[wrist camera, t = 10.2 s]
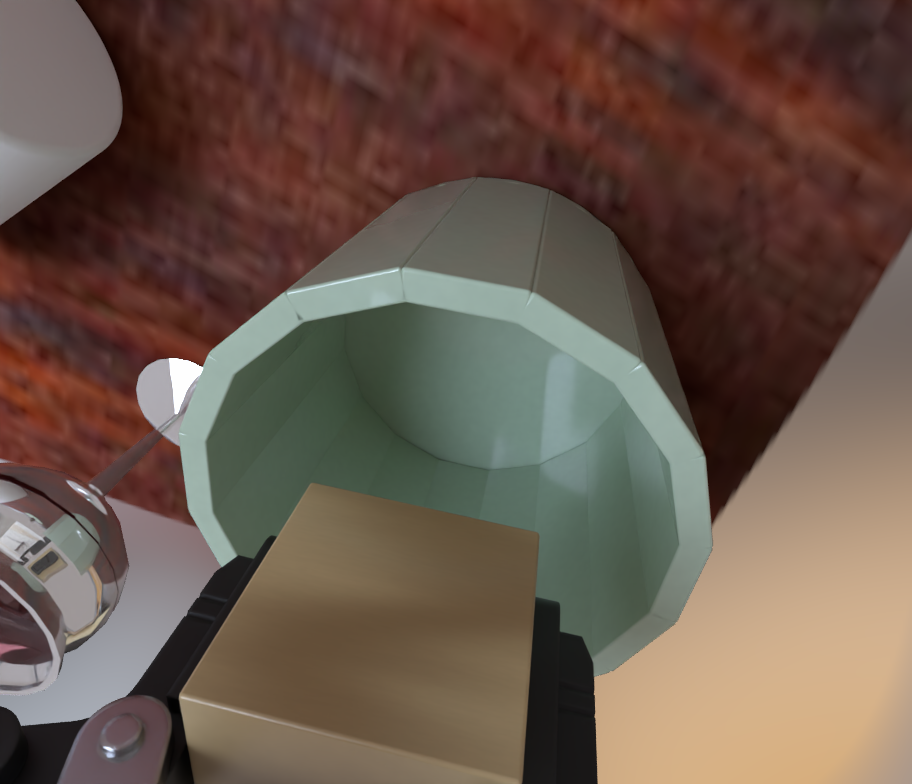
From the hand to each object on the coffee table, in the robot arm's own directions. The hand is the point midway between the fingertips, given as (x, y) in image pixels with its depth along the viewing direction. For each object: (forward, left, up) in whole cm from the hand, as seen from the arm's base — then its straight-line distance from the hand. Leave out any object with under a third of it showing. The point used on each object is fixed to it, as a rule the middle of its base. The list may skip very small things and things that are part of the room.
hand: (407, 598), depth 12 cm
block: (0, 0, 0) cm, 0 cm away
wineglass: (+13, +6, -13) cm, 19 cm away
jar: (0, 0, -13) cm, 13 cm away
